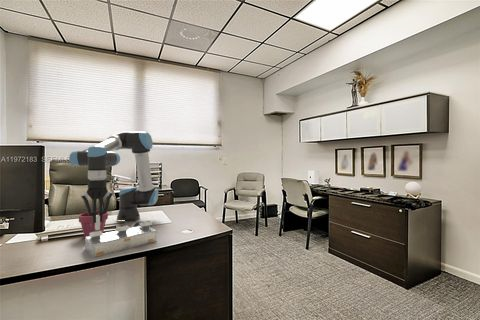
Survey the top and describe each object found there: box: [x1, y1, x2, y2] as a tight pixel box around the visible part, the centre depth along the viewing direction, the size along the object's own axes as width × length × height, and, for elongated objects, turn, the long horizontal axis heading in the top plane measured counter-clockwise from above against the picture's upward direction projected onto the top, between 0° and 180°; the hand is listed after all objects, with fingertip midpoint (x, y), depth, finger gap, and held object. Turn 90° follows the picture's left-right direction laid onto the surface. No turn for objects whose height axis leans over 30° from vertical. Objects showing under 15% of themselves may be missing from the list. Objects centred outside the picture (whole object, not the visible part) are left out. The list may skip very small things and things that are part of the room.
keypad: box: [129, 221, 151, 228], centre depth 147 cm, size 10×4×15 cm
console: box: [84, 225, 157, 258], centre depth 121 cm, size 14×30×7 cm, turn 134°
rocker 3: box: [139, 220, 153, 227], centre depth 130 cm, size 8×4×2 cm, turn 44°
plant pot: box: [78, 210, 109, 238], centre depth 136 cm, size 14×14×13 cm
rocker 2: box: [115, 224, 130, 232], centre depth 121 cm, size 8×4×2 cm, turn 44°
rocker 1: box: [89, 230, 102, 237], centre depth 113 cm, size 8×4×2 cm, turn 44°
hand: (97, 229), depth 110 cm, fingers closed
